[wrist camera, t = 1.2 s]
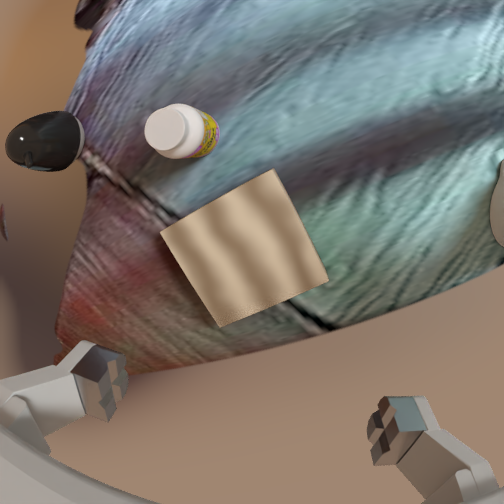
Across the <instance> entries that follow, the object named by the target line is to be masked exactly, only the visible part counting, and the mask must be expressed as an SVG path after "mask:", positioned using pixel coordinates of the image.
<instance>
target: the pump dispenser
mask: <svg viewBox="0 0 504 504" xmlns="http://www.w3.org/2000/svg"><path fill="white" fill-rule="evenodd" d="M84 140H85V135H84V129H83V127H82V124H81V123H80V121H79V120H78V119H77V118H76V117H74V116H73V115H72V114H71V113H69V112H66V111H53V112H47V113H43V114H39V115H36V116H34V117H31V118H29V119H27V120H25V121H23V122H21V123H20V124H18V125H17V126H16V127H15V128H14V129H13V130H12V131H11V132H10V133H9V135H8V137H7V139H6V143H5V148H6V153H7V156H8V157H9V158H10V159H11V160H12V161H13V162H14V163H16V164H18V165H20V166H22V167H25V168H28V169H32V170H38V171H47V172H53V171H60V170H64V169H66V168H67V167H68V166H69V165H70V164H72V163H73V162H74V161H75V160H76V159H77V158H78V156H79V155H80V153H81V151H82V149H83V146H84Z"/></svg>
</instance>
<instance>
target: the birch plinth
mask: <svg viewBox="0 0 504 504" xmlns="http://www.w3.org/2000/svg"><path fill="white" fill-rule="evenodd" d="M160 233H161V235H162V237H163V239H164V240H165V242H166V244H167V245H168V247H169V249H170V250H171V252H172V254H173V255H174V257H175V259H176V260H177V262H178V263H179V265H180V267H181V268H182V270H183V272H184V273H185V275H186V276H187V278H188V280H189V281H190V283H191V284H192V286H193V287H194V289H195V291H196V292H197V294H198V295H199V297H200V298H201V300H202V301H203V303H204V305H205V306H206V308H207V309H208V311H209V312H210V314H211V315H212V317H213V318H214V320H215V321H216V323H217V324H218V326H219V327H222V326H225V325H227V324H230V323H232V322H235V321H237V320H240V319H242V318H245V317H247V316H249V315H252V314H254V313H257V312H259V311H261V310H264V309H266V308H269V307H271V306H273V305H276V304H278V303H280V302H283V301H285V300H287V299H290V298H292V297H294V296H296V295H299V294H301V293H303V292H306V291H308V290H310V289H312V288H314V287H317V286H319V285H321V284H323V283H325V282H328V281H329V279H328V276H327V272H326V269H325V267H324V265H323V263H322V261H321V259H320V257H319V255H318V253H317V251H316V248H315V246H314V244H313V242H312V240H311V238H310V236H309V234H308V232H307V230H306V228H305V226H304V224H303V223H302V221H301V219H300V217H299V215H298V213H297V211H296V209H295V207H294V205H293V203H292V201H291V199H290V197H289V196H288V194H287V192H286V190H285V188H284V186H283V184H282V182H281V181H280V179H279V177H278V175H277V173H276V171H275V169H274V168H272V169H270V170H269V171H267V172H265V173H263V174H261V175H259V176H257V177H255V178H253V179H252V180H250V181H248V182H246V183H244V184H242V185H240V186H239V187H237V188H235V189H233V190H231V191H229V192H228V193H226V194H224V195H222V196H220V197H219V198H217V199H215V200H213V201H212V202H210V203H208V204H206V205H205V206H203V207H201V208H199V209H198V210H196V211H194V212H192V213H191V214H189V215H187V216H186V217H184V218H182V219H180V220H179V221H177V222H175V223H174V224H172V225H170V226H169V227H167V228H166V229H164V230H163V231H161V232H160Z"/></svg>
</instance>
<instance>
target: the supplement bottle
mask: <svg viewBox="0 0 504 504" xmlns="http://www.w3.org/2000/svg"><path fill="white" fill-rule="evenodd" d="M145 137H146V140H147V142H148V143H149V145H150V146H152V147H153V148H155V150H156V151H157V152H158V153H159V154H161V155H163V156H165V157H167V158H172V159H180V158H195V157H202V156H205V155H207V154H209V153H210V152H212V151H213V150H214V149H215V147H216V146H217V144H218V141H219V137H220V131H219V127H218V124H217V122H216V121H215V120H214V119H213V118H212V117H211V116H210V115H208V114H206V113H204V112H202V111H200V110H197V109H195V108H193V107H191V106H188V105H185V104H172V105H169V106H167V107H165V108H162V109H159V110H157V111H155V112H154V113H153V114H152V115H151V116H150V117H149V118H148V120H147V122H146V125H145Z"/></svg>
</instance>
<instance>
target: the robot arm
mask: <svg viewBox="0 0 504 504" xmlns="http://www.w3.org/2000/svg"><path fill="white" fill-rule="evenodd" d="M490 223H491V228H492V232H493V234H494V237H495V239H496V240H497V242H498V243H499V244H500V245H501V246H503V247H504V160H503V161H502V163H501V168H500V177H499V180H498V182H497V185H496V187H495V189H494V192H493V195H492V199H491V205H490ZM125 365H126V357H125V355H124V354H123V353H120V352H117V351H114V350H112V349H109V348H106V347H103V346H101V345H98V344H94V343H92V342H89V341H87V340H83V341H80V342H79V343H78V344H77V345H76V346H75V347H74V348H73V350H72V351H71V352H70V353H69V354H68V355H67V356H66V357H65V358H64V359H63V360H62V361H61V362H60V363H59V364H58V365H57V366H54V365H51V366H48V367H44V368H41V369H38V370H34V371H31V372H27V373H24V374H20V375H17V376H13V377H10V378H6V379H2V380H0V504H160V503H156V502H154V501H150V500H147V499H144V498H141V497H138V496H136V495H132V494H130V493H127V492H125V491H122V490H119V489H117V488H114V487H112V486H109V485H107V484H105V483H102V482H100V481H98V480H95V479H93V478H91V477H89V476H87V475H85V474H83V473H80V472H78V471H76V470H74V469H72V468H70V467H68V466H67V465H65V464H63V463H61V462H59V461H57V460H56V459H54V458H52V457H50V456H49V454H50V453H51V450H50V447H49V446H48V444H47V442H46V440H45V439H44V437H45V436H46V435H49V434H51V433H53V432H55V431H57V430H59V429H60V428H62V427H64V426H66V425H68V424H70V423H72V422H74V421H76V420H78V419H79V418H81V417H83V416H85V414H87V415H90V416H92V417H95V418H97V419H100V420H103V421H105V422H109V420H110V419H111V417H112V416H113V414H114V412H115V411H116V409H117V408H116V404H115V403H116V402H118V401H120V400H122V399H123V397H124V396H125V394H126V391H127V387H128V380H129V379H128V373H127V372H126V371H125V369H124V366H125ZM378 408H379V410H378V411H376V412H374V413H373V414H372V415H371V417H370V419H369V421H368V426H367V436H368V440H369V441H370V442H371V443H372V444H373V447H372V449H371V450H370V451H371V455H372V460H373V465H374V466H379V465H380V466H381V465H396V466H397V468H398V469H399V470H400V471H401V472H402V473H403V474H404V476H405V477H406V478H407V479H408V480H409V481H410V482H411V483H412V485H413V486H414V487H415V488H416V489H417V490H418V491H419V492H420V494H421V495H422V496H423V497H424V498H425V499H426V500H425V501H424V502H422V503H421V504H504V487H502V488H499V485H498V483H497V481H496V478H495V476H494V474H493V471H492V469H491V467H490V465H489V463H488V461H487V460H485V459H484V458H482V457H481V456H480V455H478V454H477V453H476V452H474V451H473V450H472V449H470V448H469V447H467V446H466V445H465V444H463V443H462V442H460V441H459V440H458V439H457V438H455V437H454V436H453V435H451V434H450V433H449V432H447V431H446V430H444V429H440V427H439V425H438V423H437V421H436V418H435V416H434V414H433V412H432V410H431V407H430V406H429V403H428V401H427V399H426V398H425V397H424V396H410V397H409V396H401V397H400V396H398V397H397V396H384V397H383V398H382V399H381V400H380V401H379V403H378Z"/></svg>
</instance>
